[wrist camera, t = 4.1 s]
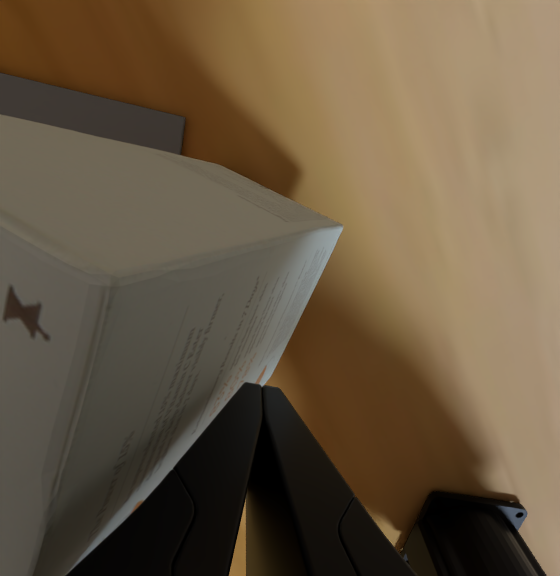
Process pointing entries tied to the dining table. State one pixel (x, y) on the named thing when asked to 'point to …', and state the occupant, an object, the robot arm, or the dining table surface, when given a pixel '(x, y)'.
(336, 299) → the dining table surface
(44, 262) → the small box
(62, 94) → the mat
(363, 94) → the dining table surface
